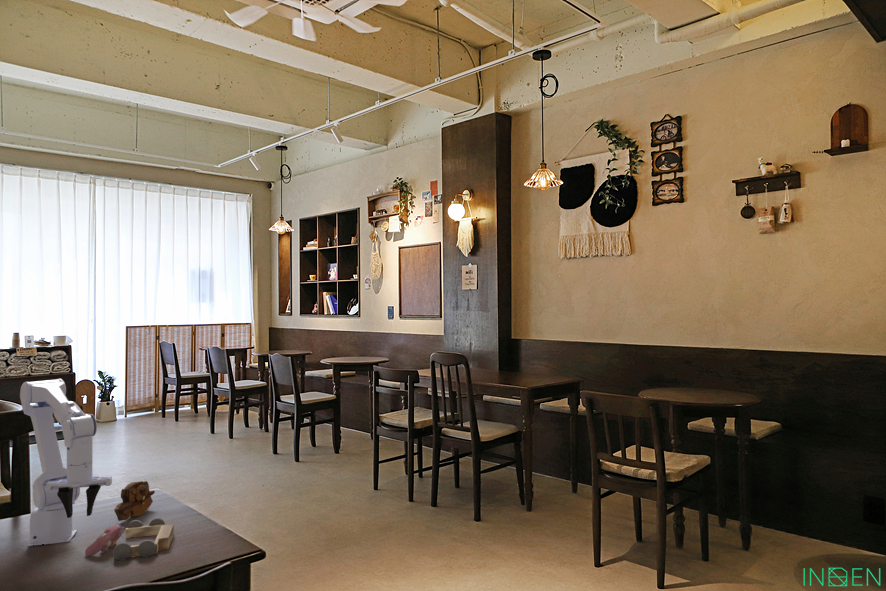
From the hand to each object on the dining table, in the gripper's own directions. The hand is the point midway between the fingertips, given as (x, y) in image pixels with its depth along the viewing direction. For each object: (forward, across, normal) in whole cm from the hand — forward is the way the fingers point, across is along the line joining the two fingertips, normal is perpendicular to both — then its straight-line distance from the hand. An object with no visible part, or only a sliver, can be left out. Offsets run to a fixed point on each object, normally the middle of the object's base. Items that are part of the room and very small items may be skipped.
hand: (79, 515), depth 156 cm
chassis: (+9, +16, 0) cm, 18 cm away
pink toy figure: (+10, +6, 0) cm, 11 cm away
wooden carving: (+10, +9, +25) cm, 28 cm away
